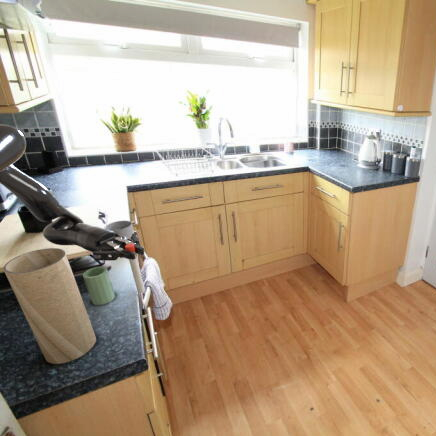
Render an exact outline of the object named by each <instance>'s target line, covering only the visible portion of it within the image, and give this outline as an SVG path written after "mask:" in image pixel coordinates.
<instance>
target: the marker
mask: <svg viewBox="0 0 436 436" xmlns="http://www.w3.org/2000/svg"><path fill="white" fill-rule="evenodd" d="M125 248H126V250H129V251H132V252H134V254H135V257H136V258H135V259H134V260H132V259H128V261H129V265H130V269H131V272H132V277H133V279H134V280H133V281H134V283H135V284H134V285H135V287H136V291H137V293H138V294H141V293H144V292H145V291H146V288H145V284H144V280H143V276H142V271H141V267H140V265H139V261H138V258H137V253H136V252H135V247H134V244H127V245H125Z"/></svg>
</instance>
